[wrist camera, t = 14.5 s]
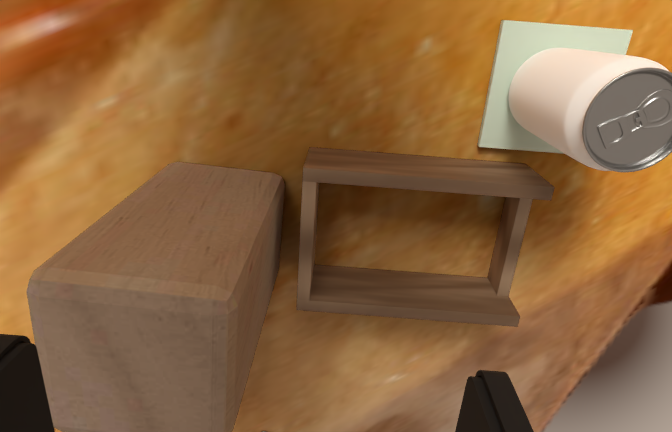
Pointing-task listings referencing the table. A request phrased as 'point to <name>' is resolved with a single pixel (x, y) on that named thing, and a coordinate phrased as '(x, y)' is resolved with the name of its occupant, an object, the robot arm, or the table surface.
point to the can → (596, 106)
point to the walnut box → (412, 287)
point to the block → (160, 304)
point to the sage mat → (512, 52)
